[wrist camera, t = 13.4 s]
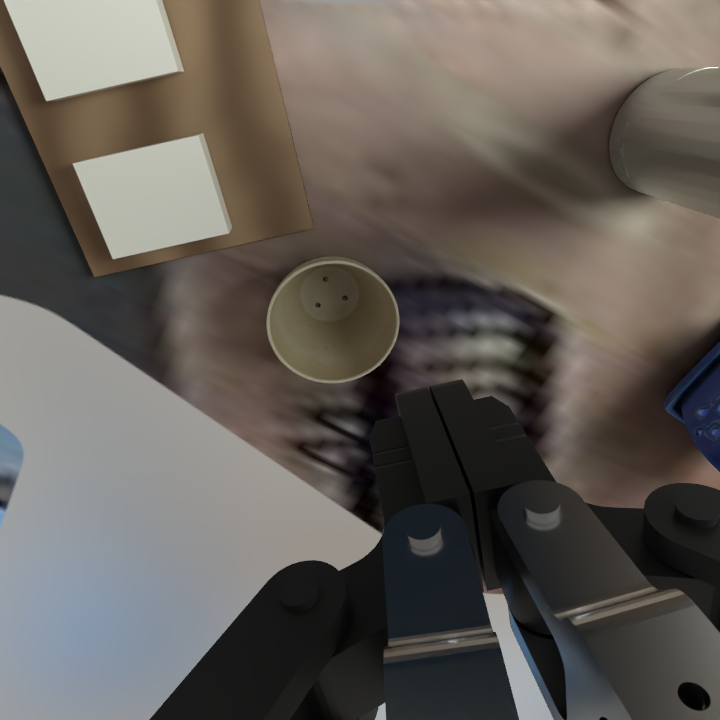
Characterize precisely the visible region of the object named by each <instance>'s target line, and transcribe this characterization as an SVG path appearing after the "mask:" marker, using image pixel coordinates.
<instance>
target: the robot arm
mask: <svg viewBox="0 0 720 720" xmlns="http://www.w3.org/2000/svg"><path fill="white" fill-rule="evenodd" d="M609 152H610V160H611V163H612V167H613V170H614V171H615V173H616V175H617V176H618V178H619V179H620V180H621V181H622V182H623V183H624V184H625V185H626V186H627V187H629V188H631V189H633V190H635V191H637V192H640V193H643V194H646V195H650V196H653V197H656V198H659V199H662V200H664V201H668V202H671V203H674V204H677V205H680V206H683V207H686V208H689V209H692V210H695V211H699V212H702V213H705V214H708V215H711V216H714V217H717V218H720V68H717V67H714V68H690V69H674V70H669V71H665V72H662V73H660V74H657V75H655V76H653V77H651V78H649V79H648V80H647V81H645V82H644V83H642V84H641V85H639V86H638V87H637V88H636V89H635V90H634V91H633V92H632V93H631V94H630V95H629V97H628V98H627V99H626V101H625V102H624V104H623V105H622V106H621V108H620V110H619V112H618V114H617V116H616V118H615V120H614V123H613V127H612V130H611V133H610V142H609ZM395 398H396V403H397V408H398V413H399V416H398V417H393V418H388V419H384V420H379V421H376V423H375V426H374V428H373V430H372V432H371V435H370V443H371V448H372V454H373V460H374V465H375V471H376V477H377V482H378V488H379V494H380V499H381V505H382V511H383V516H384V531H383V534H382V537H381V539H380V541H379V542H378V544H377V545H376V547H375V548H374V549H373V550H372V551H371V552H370V553H369V554H368V555H366V556H365V557H364V558H362V559H361V560H359V561H357V562H356V563H354V564H352V565H350V566H348V567H346V568H344V569H342V570H340V571H338V570H337V569H336V568H335V567H333V566H332V565H330V564H328V563H325V562H322V561H315V560H313V561H303V562H298V563H295V564H292V565H290V566H287V567H286V568H284V569H282V570H280V571H279V572H278V573H276V574H275V575H274V576H273V577H272V578H271V579H270V580H269V581H268V582H267V583H266V584H265V585H264V586H263V588H262V589H261V590H260V591H259V592H258V594H257V595H256V596H255V597H254V598H253V599H252V601H251V602H250V603H249V604H248V605H247V606H246V608H245V609H244V610H243V611H242V612H241V613H240V614H239V616H238V617H237V618H236V619H235V620H234V622H233V623H232V624H231V625H230V626H229V627H228V628H227V630H226V631H225V632H224V633H223V634H222V636H221V637H220V638H219V639H218V640H217V641H216V643H215V644H214V645H213V646H212V647H211V648H210V650H209V651H208V652H207V653H206V654H205V655H204V657H203V658H202V659H201V660H200V661H199V662H198V664H197V665H196V666H195V667H194V668H193V669H192V671H191V672H190V673H189V674H188V675H187V676H186V678H185V679H184V680H183V681H182V682H181V683H180V685H179V686H178V687H177V688H176V689H175V691H174V692H173V693H172V694H171V695H170V696H169V698H168V699H167V700H166V701H165V702H164V703H163V705H162V706H161V707H160V708H159V709H158V710H157V712H156V713H155V714H154V715H153V716H152V717H151V719H150V720H375V717H376V714H377V711H378V706H380V705H382V704H383V703H385V704H386V720H519V717H518V714H517V709H516V706H515V702H514V698H513V694H512V690H511V686H510V683H509V678H508V675H507V671H506V667H505V664H504V659H503V655H502V652H501V648H500V644H499V641H498V638H497V635H496V633H495V632H493V630H492V627H491V623H490V619H489V615H488V611H487V607H486V603H485V599H484V595H483V592H484V591H483V584H482V578H483V580H484V583H485V586H486V589H487V591H488V590H493V589H498V588H502V590H503V593H504V596H505V598H506V601H507V603H508V610H509V619H510V625H511V628H512V631H513V633H514V635H515V637H516V639H517V642H518V644H519V646H520V648H521V650H522V652H523V654H524V657H525V659H526V661H527V663H528V665H529V667H530V669H531V671H532V674H533V676H534V678H535V680H536V682H537V684H538V687H539V689H540V691H541V693H542V695H543V697H544V699H545V702H546V704H547V706H548V708H549V710H550V712H551V714H552V717H553V719H554V720H720V490H717V489H714V488H711V487H708V486H704V485H699V484H691V483H677V484H670V485H666V486H663V487H660V488H658V489H656V490H655V491H653V492H652V493H651V494H650V495H649V496H648V497H647V499H646V501H645V505H644V509H638V508H611V507H601V506H596V505H592V504H588V503H586V502H585V501H584V500H583V499H582V497H581V496H580V495H579V494H578V493H577V492H575V491H574V490H573V489H571V488H569V487H567V486H565V485H563V484H560V483H557V482H556V481H555V479H554V478H553V476H552V475H551V473H550V471H549V470H548V468H547V467H546V465H545V463H544V462H543V460H542V459H541V457H540V455H539V454H538V452H537V451H536V449H535V447H534V446H533V444H532V443H531V441H530V439H529V438H528V437H527V436H526V433H525V431H524V430H523V428H522V427H521V425H520V424H519V423H518V420H517V419H516V417H515V416H514V414H513V412H512V411H511V409H510V408H509V406H507V405H505V404H504V403H502V402H500V401H499V400H497V399H496V398H494V397H492V396H489V397H485V398H480V399H476V400H473V398H472V396H471V394H470V392H469V390H468V388H467V386H466V384H465V383H464V381H463V380H462V379H461V380H456V381H452V382H447V383H442V384H438V385H433V386H430V387H429V389H428V387H424V388H420V389H415V390H411V391H406V392H401V393H397V394H395ZM481 575H482V576H481Z"/></svg>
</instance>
